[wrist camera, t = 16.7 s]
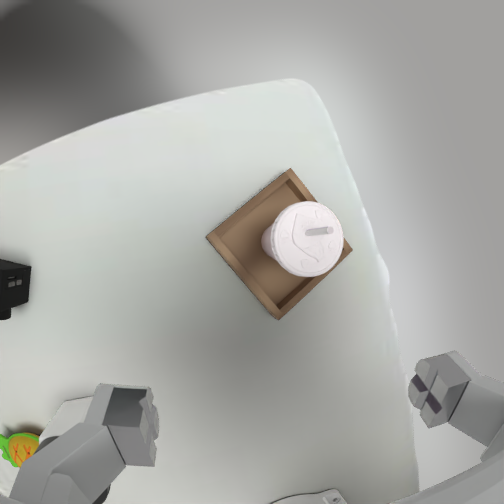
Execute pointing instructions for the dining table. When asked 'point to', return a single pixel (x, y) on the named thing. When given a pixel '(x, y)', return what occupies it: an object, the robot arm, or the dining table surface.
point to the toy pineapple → (18, 447)
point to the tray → (252, 254)
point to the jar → (68, 427)
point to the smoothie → (305, 239)
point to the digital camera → (13, 286)
